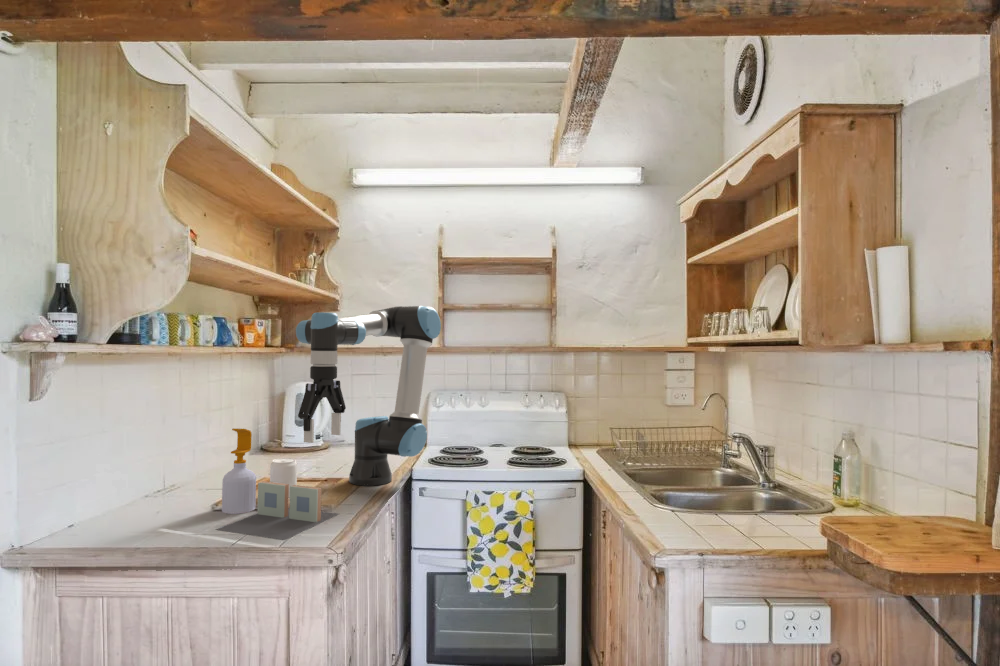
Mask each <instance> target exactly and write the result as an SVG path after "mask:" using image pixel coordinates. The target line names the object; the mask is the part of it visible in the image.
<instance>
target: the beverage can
mask: <svg viewBox="0 0 1000 666" xmlns="http://www.w3.org/2000/svg"><path fill="white" fill-rule="evenodd" d="M269 465H270V466H269V467H270V469H269V475H270V476H269V482H274V483H283V484H289V497H288V499H290V486H293V485H298V484H297V482H298V480H297V479H298V463H297V461H296V458H291V457H281V458H275V459H274V458H273V459H272V462H271V463H270V464H269Z"/></svg>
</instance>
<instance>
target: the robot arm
mask: <svg viewBox="0 0 1000 666" xmlns="http://www.w3.org/2000/svg"><path fill="white" fill-rule="evenodd" d="M441 325H442V323H441V319H440V315H439V314H438V311H437V310H436V309H435V308H433V306H424V305H417V306H416V305H413V306H411V305H409V306H408V305H407V306H399V305H398V306H392V307H388V308H382V309H376V310H372V311H371V312H369V313H367V314H361V315H360V314H359V315H349V316H342V317H341V316H340V317H339V316H338V313H336V312H321V311H320V312H314V313H312V315H311V319H307V320H306V319H305V320H301V321H300V322H298V323H297V325H296V327H295V336H296V338H297V340H298V341H299V342H300V343H301V344H308V345H310V364H311V365H312V366H310V368H309V373H310V374H309V378H310V379H311V380H312V381H313V382H312V383H307V382H306V383H305V389H304V390H305V391H304V395H303V397H302V402H301V404H300V408H299V412H298V413H297V414H298V415H297V416H298V418H299V419H300V420H303V443H308V444H311V443H314V441H315V440H314V439H315V438H314V437H315V436H314V435H315V434H314V433H315V432H314V429H315V419H314V418H313V417H314V414H315V412H316V411H317V408H318V406H319V404H320V401H322V400H323V399H325V398H326V400H327V402H328V404H329V406H330V407H331V409H332V410H331V411H333V412H331V429H330V431H331V432H330V433H331V434H330V435H334V436H341V431H342V430H341V426H342V425H341V422H342V416H341V415H342V414H344V413H346V412H345V411H346V403H345V399H344V396H343V392H342V387H341V381H340V380H338V379H337V378H338V366H336V365H337V364H338V345H341V346H342V345H343V346H345V345H347V346H349V345H350V346H354V345H359V344H362V343H363V342H364V341H365V339H366V336H373V337H392V338H400V340H399V341H400V342H401V344H403V348H402V356H401V363H400V369H399V370H400V371H399V375H398V377H399V378H398V383H397V390H396V391H397V392H396V397H395V398H396V399H395V406H394V411H393V412H392V413H391V414H390V415H389V417H388V416H387V415H382V416H372V417H365V418H359V419H357V420H356V421H355V427H354V428H355V429H354V460H353V464H352V466H351V469H350V472H349V474H348V475H349V476H348V482H349V483H350V484H352V485H356V486H367V487H369V486H379V485H384V484H388V483H390V482H392V479H393V474H392V471H391V467H390V463H389V460H388V455H391V456H397V457H398V456H399V457H410V458H411V457H416V456H418V455H419V454H420V453H421V452H422V451H423V449H424V447H425V446H426V442H427V437H428V431H427V427H426V426H425V425H424V424H423V418H422V416H420V407H421V399H422V398H421V397H422V391H423V384H424V376H425V369H426V361H427V353H428V349H429V347H431V346H433V340H435V339H437V338H438V337H439V335H440V333H441V329H442V327H441ZM336 379H337V380H336Z"/></svg>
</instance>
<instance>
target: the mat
mask: <svg viewBox="0 0 1000 666" xmlns="http://www.w3.org/2000/svg"><path fill="white" fill-rule="evenodd" d="M339 515H340V513H335V512H327V511H321V520H320V521H318V522H310V521H303V520H296V519H289V508H288V516H286V517H284V518H282V517H274V516H267V515H260V514H257V513H255V514H253V515H249V516H247V517H244V518H242V519H240V520H237V521H233V522H232V523H231V522H230V523H229V524H226V525H224V526H221V527H219V528H216V529H215V530H216V531H221V532H226V533H227V532H229V533H233V534H241V535H247V536H253V537H260V538H266V539H273V540H279V541H286V540H288V539H290V538H293V537H295V536H296V535H299V534H301V533H303V532H305V531H308V530H310V529H311V528H313V527H316V526H317V525H320V524H322V523H324V522H327V521H328V520H330V519H333V518H335V517H337V516H339Z"/></svg>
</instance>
